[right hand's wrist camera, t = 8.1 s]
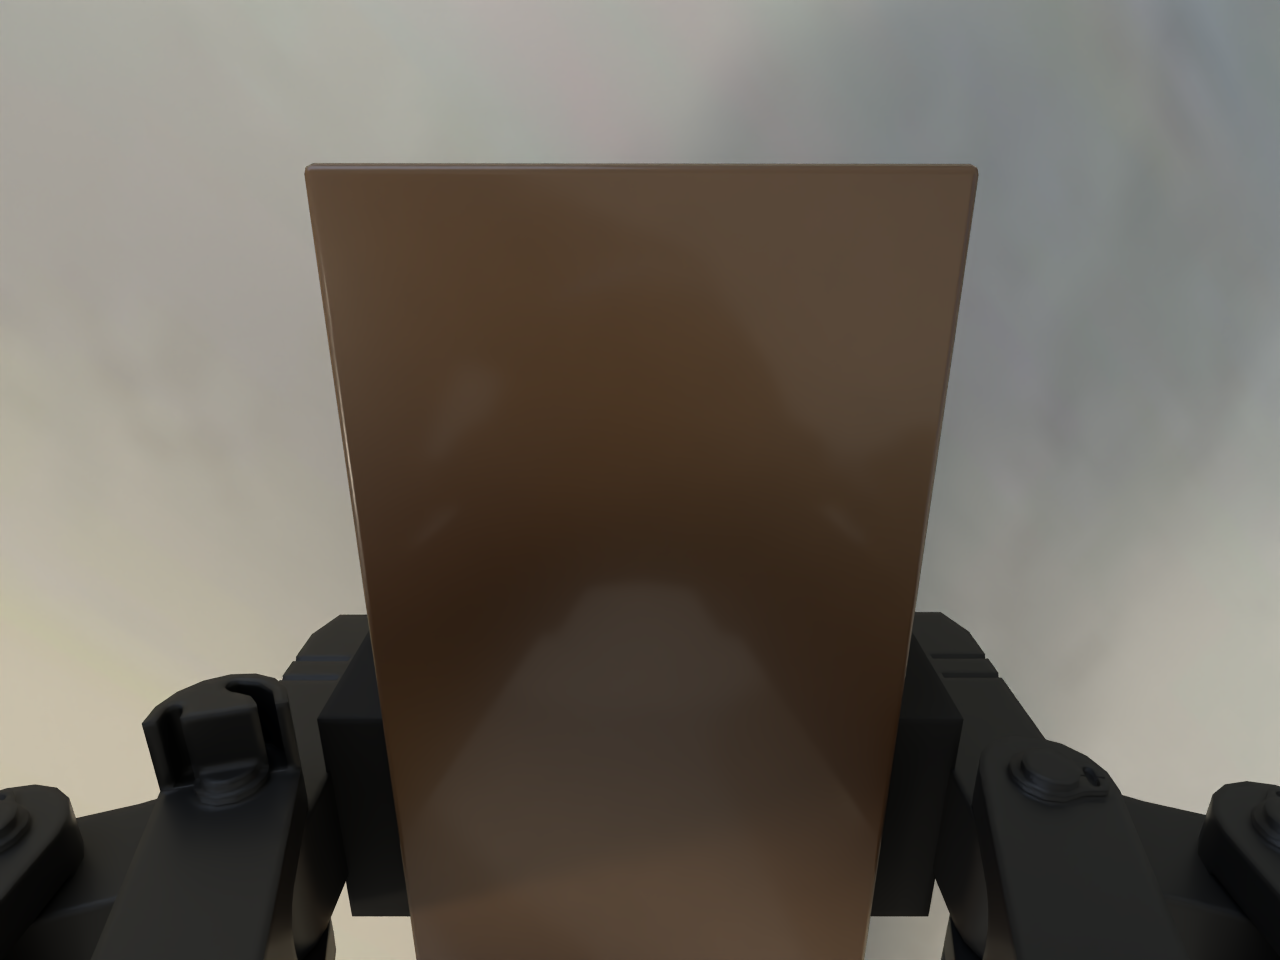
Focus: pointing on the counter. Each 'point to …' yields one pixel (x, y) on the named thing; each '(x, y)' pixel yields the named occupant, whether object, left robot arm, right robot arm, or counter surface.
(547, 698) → the bar
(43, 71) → the counter surface
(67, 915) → the right robot arm
